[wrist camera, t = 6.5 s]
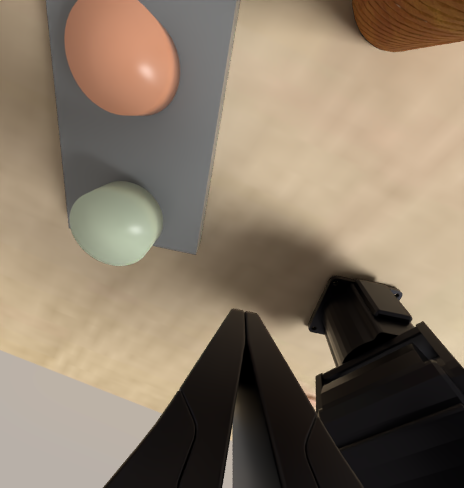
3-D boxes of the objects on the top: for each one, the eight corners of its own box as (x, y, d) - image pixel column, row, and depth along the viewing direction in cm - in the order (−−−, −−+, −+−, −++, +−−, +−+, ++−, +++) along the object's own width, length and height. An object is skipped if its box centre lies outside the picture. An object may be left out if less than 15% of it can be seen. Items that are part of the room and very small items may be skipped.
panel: (200, 243, 22) (195, 254, 20) (84, 219, 21) (69, 228, 19) (273, -204, 11) (278, -264, 9) (50, -266, 11) (10, -341, 9)
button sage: (160, 254, 19) (148, 272, 17) (93, 240, 19) (73, 257, 16) (166, 190, 17) (153, 201, 14) (90, 173, 16) (65, 182, 14)
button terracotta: (175, 124, 16) (163, 125, 13) (95, 105, 15) (69, 103, 13) (184, 21, 13) (172, 3, 11) (91, -1, 13) (58, -26, 11)
